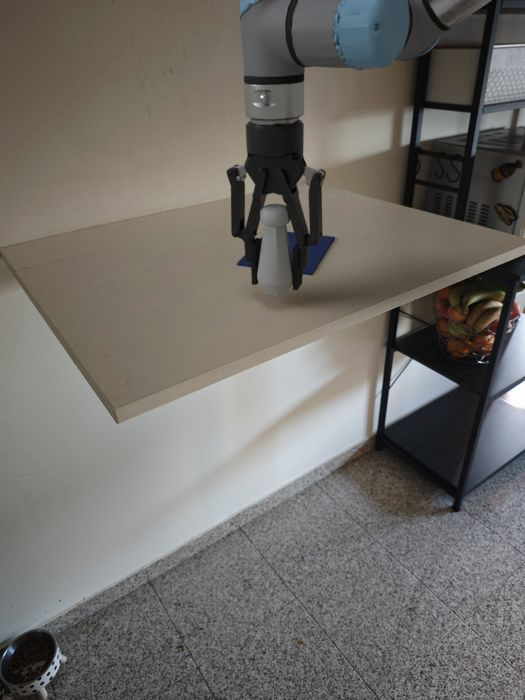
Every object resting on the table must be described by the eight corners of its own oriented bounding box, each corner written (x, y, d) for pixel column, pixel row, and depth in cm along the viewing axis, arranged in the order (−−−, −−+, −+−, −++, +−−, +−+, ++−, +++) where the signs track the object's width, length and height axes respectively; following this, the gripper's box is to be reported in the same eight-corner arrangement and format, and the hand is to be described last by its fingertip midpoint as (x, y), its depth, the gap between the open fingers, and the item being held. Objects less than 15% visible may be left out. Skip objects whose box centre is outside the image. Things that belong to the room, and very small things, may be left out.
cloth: (334, 238, 100) (335, 236, 100) (311, 275, 86) (311, 272, 86) (269, 231, 104) (269, 229, 104) (236, 265, 90) (236, 263, 90)
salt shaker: (262, 301, 74) (259, 214, 67) (253, 285, 78) (249, 202, 71) (300, 295, 75) (301, 209, 68) (288, 279, 80) (288, 198, 72)
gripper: (195, 122, 64) (211, 286, 76) (340, 126, 58) (331, 302, 71) (219, 113, 70) (230, 267, 82) (353, 116, 64) (342, 280, 77)
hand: (277, 283), depth 76 cm, fingers closed on salt shaker, 6 cm apart
